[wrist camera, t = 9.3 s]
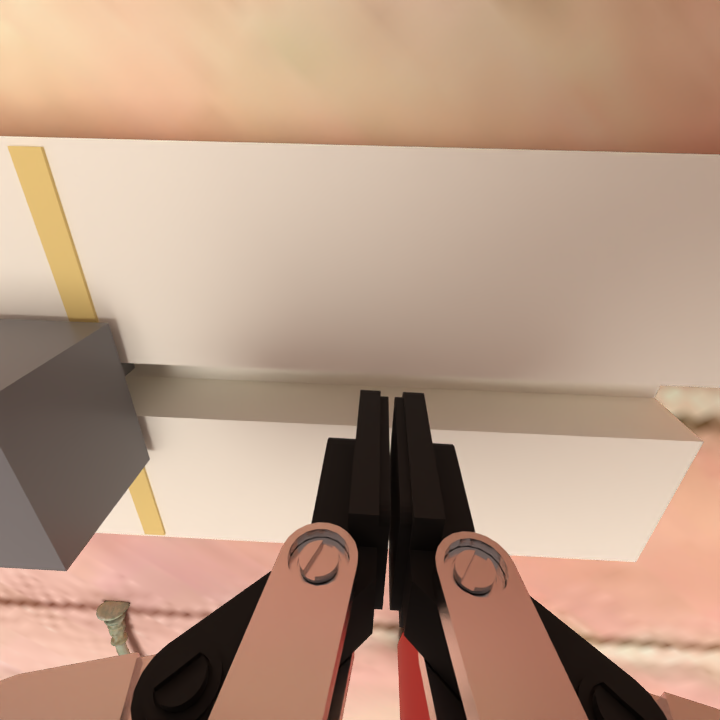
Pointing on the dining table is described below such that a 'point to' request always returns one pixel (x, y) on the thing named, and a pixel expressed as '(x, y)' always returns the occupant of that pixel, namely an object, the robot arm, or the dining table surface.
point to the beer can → (410, 683)
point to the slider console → (382, 319)
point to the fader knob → (62, 439)
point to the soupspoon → (115, 623)
